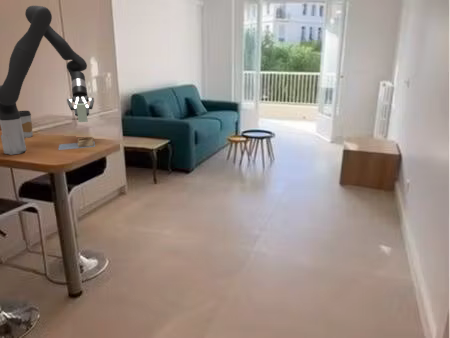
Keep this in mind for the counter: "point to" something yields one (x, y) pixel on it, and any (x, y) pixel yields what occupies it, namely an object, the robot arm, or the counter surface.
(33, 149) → the counter surface
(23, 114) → the coffee cup
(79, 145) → the socket block
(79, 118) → the pillar
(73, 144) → the blueprint board
